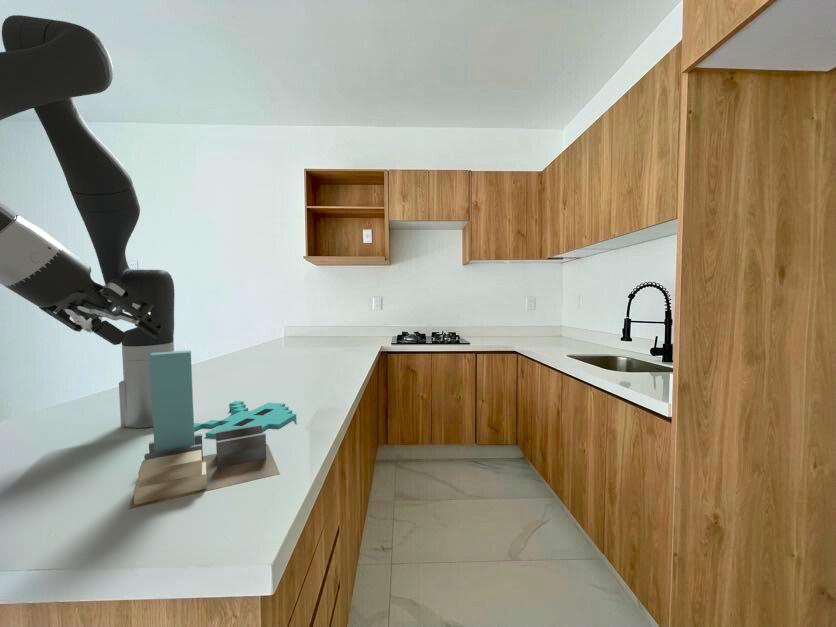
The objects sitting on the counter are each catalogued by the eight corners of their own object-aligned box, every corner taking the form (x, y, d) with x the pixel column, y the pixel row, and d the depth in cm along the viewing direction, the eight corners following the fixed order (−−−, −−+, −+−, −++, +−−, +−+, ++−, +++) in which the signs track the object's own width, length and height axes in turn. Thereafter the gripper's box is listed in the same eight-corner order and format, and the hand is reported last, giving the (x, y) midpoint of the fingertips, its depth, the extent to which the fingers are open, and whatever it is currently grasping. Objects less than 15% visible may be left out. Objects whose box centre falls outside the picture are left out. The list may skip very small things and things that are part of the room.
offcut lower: (134, 504, 48) (133, 489, 48) (139, 489, 52) (139, 474, 52) (206, 488, 52) (206, 474, 52) (206, 474, 56) (206, 461, 56)
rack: (129, 516, 47) (127, 477, 47) (143, 473, 58) (142, 442, 58) (280, 480, 56) (279, 447, 56) (267, 449, 67) (266, 421, 67)
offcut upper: (138, 487, 48) (138, 472, 48) (143, 474, 52) (142, 460, 52) (201, 474, 52) (201, 460, 52) (202, 463, 55) (201, 449, 55)
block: (155, 477, 55) (149, 355, 54) (157, 470, 57) (151, 352, 56) (195, 469, 58) (190, 352, 57) (195, 462, 60) (190, 350, 59)
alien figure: (166, 441, 73) (258, 448, 69) (165, 430, 73) (258, 436, 69) (235, 409, 92) (311, 414, 88) (235, 401, 92) (310, 404, 88)
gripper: (88, 230, 47) (187, 311, 59) (16, 252, 51) (122, 323, 63) (45, 273, 42) (162, 352, 54) (-30, 293, 46) (94, 362, 58)
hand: (140, 336), depth 58 cm, fingers open, 8 cm apart
